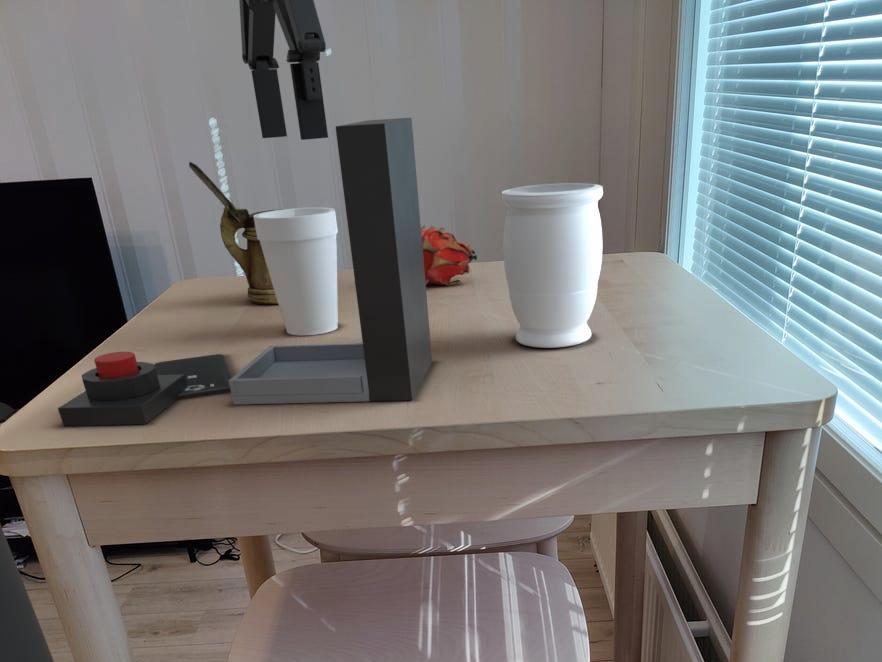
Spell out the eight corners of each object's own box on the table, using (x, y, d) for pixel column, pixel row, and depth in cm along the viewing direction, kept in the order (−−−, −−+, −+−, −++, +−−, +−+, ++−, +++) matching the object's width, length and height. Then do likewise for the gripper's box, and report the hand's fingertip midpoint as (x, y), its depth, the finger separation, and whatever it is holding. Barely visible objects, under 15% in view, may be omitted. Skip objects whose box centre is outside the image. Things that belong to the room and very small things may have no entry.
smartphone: (157, 406, 84) (155, 398, 83) (155, 369, 96) (153, 362, 95) (236, 394, 85) (234, 386, 85) (224, 359, 98) (223, 352, 97)
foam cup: (283, 342, 101) (262, 220, 94) (266, 327, 108) (245, 213, 101) (360, 330, 104) (345, 211, 97) (338, 316, 111) (323, 205, 104)
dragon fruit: (395, 295, 129) (473, 305, 128) (383, 268, 121) (467, 279, 120) (405, 240, 129) (483, 250, 128) (394, 209, 121) (478, 220, 120)
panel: (63, 426, 79) (50, 388, 77) (113, 393, 87) (103, 358, 85) (146, 424, 78) (135, 385, 76) (188, 391, 86) (180, 355, 84)
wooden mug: (214, 301, 125) (185, 160, 116) (306, 289, 129) (285, 151, 119) (222, 312, 118) (190, 163, 108) (318, 299, 122) (297, 154, 112)
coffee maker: (233, 404, 81) (176, 136, 69) (273, 367, 92) (230, 128, 80) (412, 400, 79) (384, 123, 67) (432, 362, 90) (411, 117, 78)
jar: (529, 325, 101) (526, 182, 93) (613, 330, 97) (617, 181, 89) (490, 348, 93) (483, 194, 85) (580, 354, 89) (581, 193, 81)
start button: (92, 381, 79) (86, 362, 78) (110, 370, 82) (105, 351, 82) (129, 380, 79) (123, 361, 78) (145, 369, 82) (141, 350, 81)
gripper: (338, -147, 75) (369, 136, 86) (256, -92, 93) (290, 134, 105) (254, -151, 72) (297, 142, 83) (186, -94, 90) (229, 139, 102)
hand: (293, 138), depth 94 cm, fingers open, 13 cm apart
